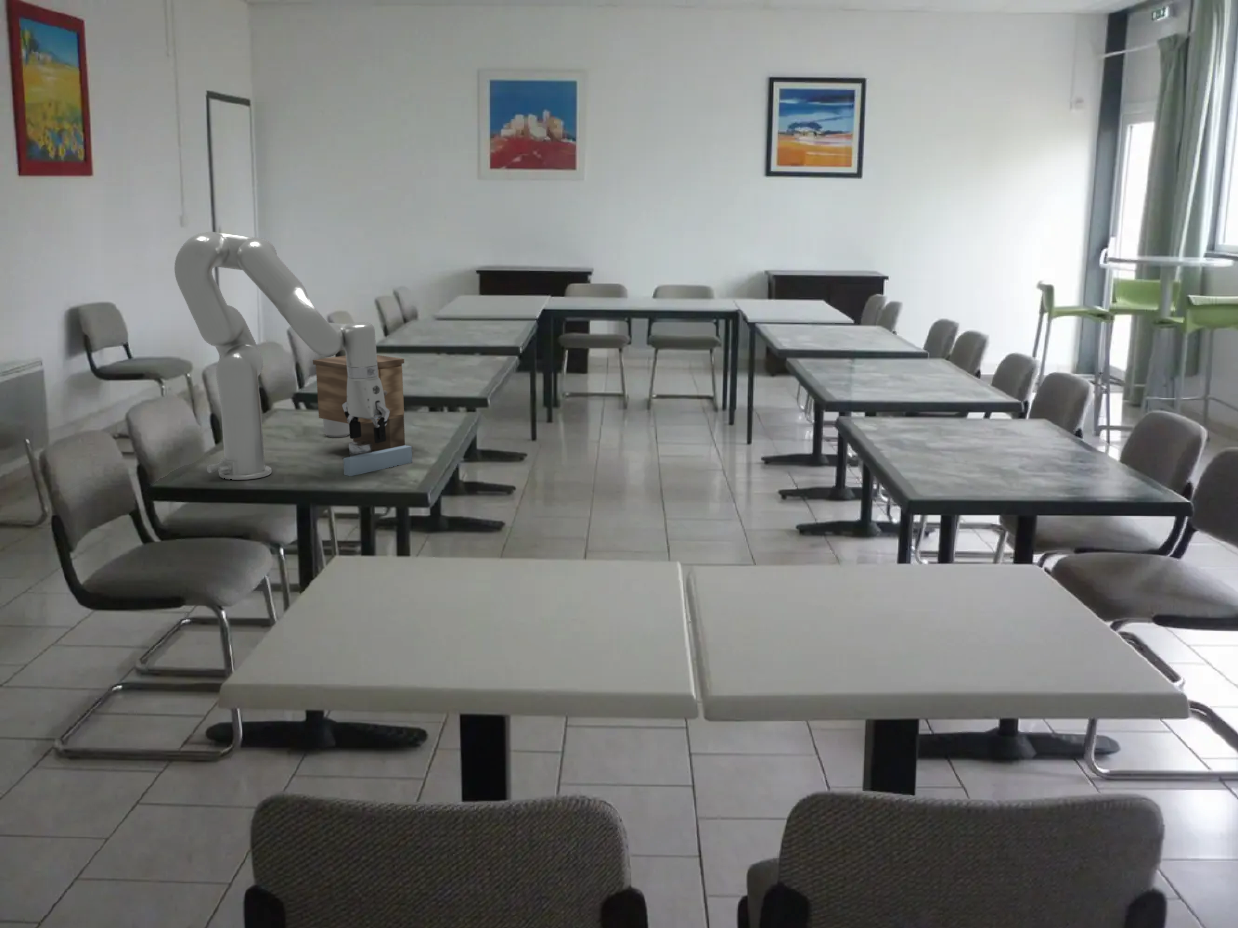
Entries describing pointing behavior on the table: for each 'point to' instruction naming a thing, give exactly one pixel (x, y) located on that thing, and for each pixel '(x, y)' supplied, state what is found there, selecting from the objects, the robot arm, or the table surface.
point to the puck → (360, 448)
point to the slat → (377, 460)
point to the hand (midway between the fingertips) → (368, 439)
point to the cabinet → (335, 395)
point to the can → (335, 428)
